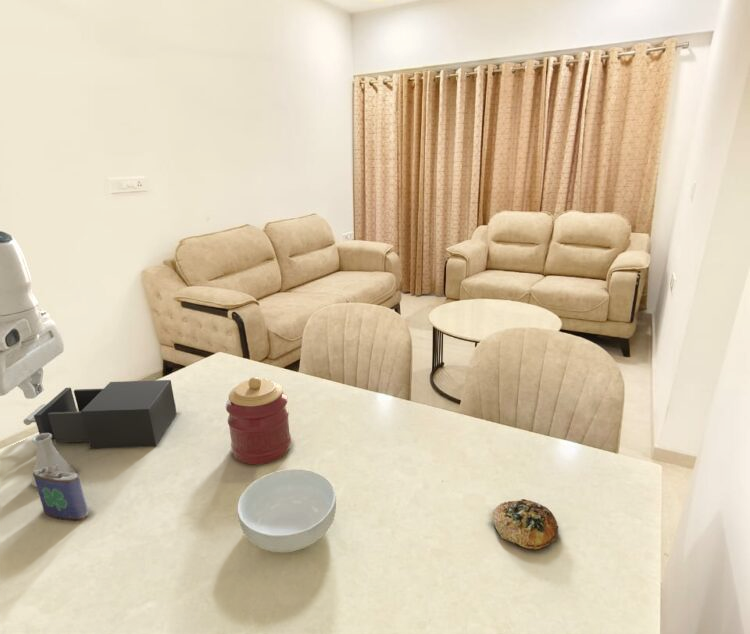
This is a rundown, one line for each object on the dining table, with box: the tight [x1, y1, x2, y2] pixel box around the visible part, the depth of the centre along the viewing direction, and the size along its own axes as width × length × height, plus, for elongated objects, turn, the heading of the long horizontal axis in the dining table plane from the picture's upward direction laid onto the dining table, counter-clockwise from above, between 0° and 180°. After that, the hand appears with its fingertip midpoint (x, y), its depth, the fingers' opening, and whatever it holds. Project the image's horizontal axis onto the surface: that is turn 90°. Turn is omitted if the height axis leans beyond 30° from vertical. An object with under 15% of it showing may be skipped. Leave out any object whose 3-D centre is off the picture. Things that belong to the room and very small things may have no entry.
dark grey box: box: [81, 379, 178, 450], centre depth 118 cm, size 15×15×10 cm
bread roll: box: [492, 498, 559, 551], centre depth 87 cm, size 11×11×5 cm
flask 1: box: [31, 433, 76, 488], centre depth 101 cm, size 7×7×10 cm
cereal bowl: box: [236, 468, 337, 554], centre depth 86 cm, size 17×17×7 cm
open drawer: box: [22, 387, 104, 443], centre depth 117 cm, size 18×13×8 cm
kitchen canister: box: [225, 376, 292, 466], centre depth 108 cm, size 13×13×18 cm
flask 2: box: [32, 464, 90, 522], centre depth 90 cm, size 9×3×11 cm, turn 76°
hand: (35, 395), depth 92 cm, fingers closed
